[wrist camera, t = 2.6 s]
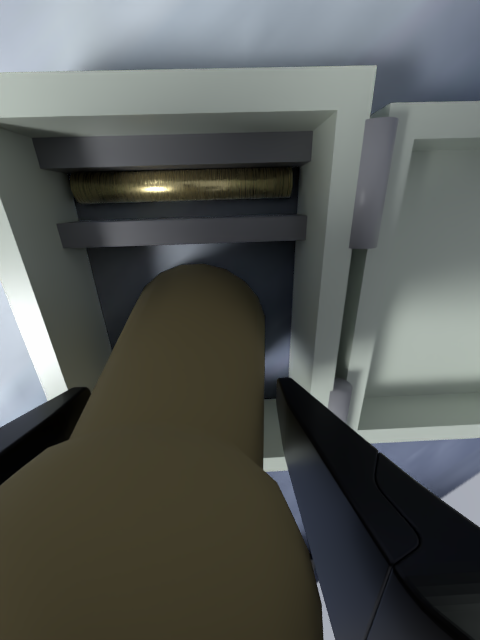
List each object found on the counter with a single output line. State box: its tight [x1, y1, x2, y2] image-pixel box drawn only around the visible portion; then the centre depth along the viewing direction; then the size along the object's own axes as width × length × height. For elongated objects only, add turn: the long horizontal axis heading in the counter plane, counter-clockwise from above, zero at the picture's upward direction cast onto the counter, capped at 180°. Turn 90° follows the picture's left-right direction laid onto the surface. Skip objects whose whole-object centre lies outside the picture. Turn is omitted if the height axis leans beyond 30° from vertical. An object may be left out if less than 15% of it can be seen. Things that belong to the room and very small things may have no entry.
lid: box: [335, 101, 480, 443], centre depth 11 cm, size 12×10×3 cm
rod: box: [70, 167, 293, 204], centre depth 10 cm, size 1×8×1 cm
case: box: [0, 65, 399, 472], centre depth 10 cm, size 13×11×4 cm
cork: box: [0, 264, 323, 640], centre depth 7 cm, size 6×6×11 cm
